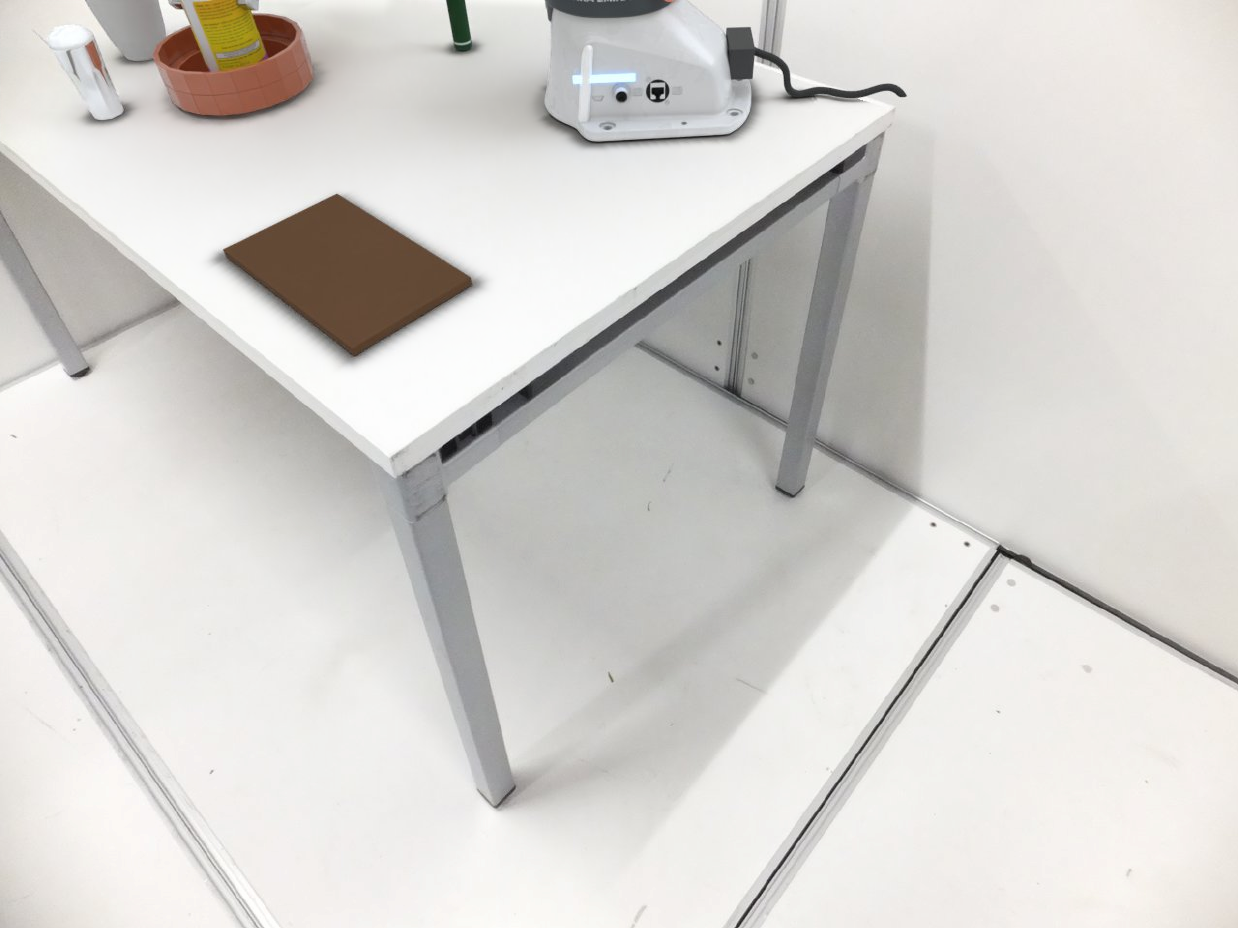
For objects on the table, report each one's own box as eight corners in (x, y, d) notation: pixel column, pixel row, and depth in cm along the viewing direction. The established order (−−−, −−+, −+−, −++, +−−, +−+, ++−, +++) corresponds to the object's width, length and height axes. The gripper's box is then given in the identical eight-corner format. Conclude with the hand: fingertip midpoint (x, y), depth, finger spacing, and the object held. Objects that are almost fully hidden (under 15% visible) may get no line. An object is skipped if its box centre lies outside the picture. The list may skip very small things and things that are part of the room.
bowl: (335, 58, 100) (322, 14, 96) (281, 122, 90) (264, 76, 86) (213, 54, 102) (196, 11, 98) (146, 117, 92) (124, 71, 88)
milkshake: (72, 120, 92) (19, 25, 84) (114, 100, 95) (67, 7, 87) (96, 130, 90) (44, 34, 83) (138, 110, 93) (92, 15, 85)
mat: (472, 285, 70) (471, 277, 69) (354, 356, 64) (351, 348, 64) (339, 200, 79) (336, 193, 79) (226, 257, 74) (222, 249, 73)
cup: (191, 39, 106) (155, -49, 98) (162, 67, 100) (122, -24, 93) (131, 38, 106) (91, -49, 99) (99, 66, 101) (54, -24, 93)
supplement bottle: (283, 68, 95) (240, -58, 86) (237, 91, 92) (186, -37, 82) (246, 56, 98) (199, -68, 88) (199, 78, 94) (146, -48, 85)
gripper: (107, -146, 86) (104, -8, 87) (291, -148, 83) (285, -6, 85) (149, -109, 92) (146, 19, 93) (321, -110, 90) (315, 22, 91)
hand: (213, 8), depth 89 cm, fingers closed on supplement bottle, 6 cm apart
